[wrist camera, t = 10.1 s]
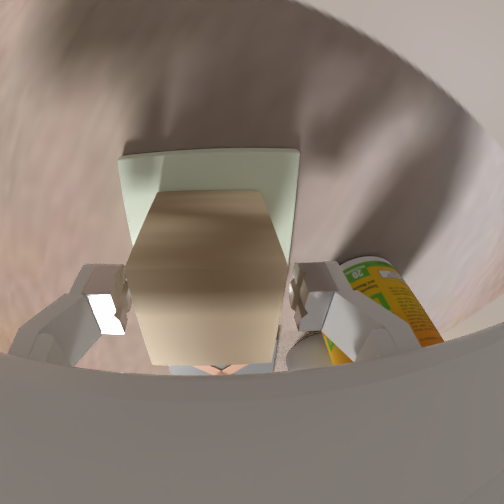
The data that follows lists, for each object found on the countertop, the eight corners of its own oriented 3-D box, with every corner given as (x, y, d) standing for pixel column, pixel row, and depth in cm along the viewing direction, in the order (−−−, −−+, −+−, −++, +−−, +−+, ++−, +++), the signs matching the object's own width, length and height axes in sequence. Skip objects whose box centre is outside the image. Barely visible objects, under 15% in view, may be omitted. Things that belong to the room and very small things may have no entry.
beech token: (166, 273, 13) (152, 364, 9) (157, 191, 11) (124, 269, 6) (253, 272, 13) (271, 362, 9) (260, 190, 11) (288, 266, 7)
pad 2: (180, 390, 20) (180, 397, 20) (161, 337, 16) (160, 346, 16) (268, 386, 21) (269, 393, 21) (276, 332, 17) (277, 341, 17)
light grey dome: (282, 374, 21) (290, 408, 18) (289, 335, 18) (299, 374, 15) (343, 364, 21) (354, 395, 19) (360, 324, 18) (375, 359, 16)
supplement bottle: (355, 237, 14) (457, 410, 6) (409, 273, 16) (490, 403, 8) (292, 308, 16) (338, 475, 8) (353, 329, 18) (404, 459, 10)
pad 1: (147, 289, 14) (145, 298, 14) (121, 155, 10) (116, 160, 10) (282, 283, 15) (284, 292, 14) (296, 148, 11) (300, 153, 10)
